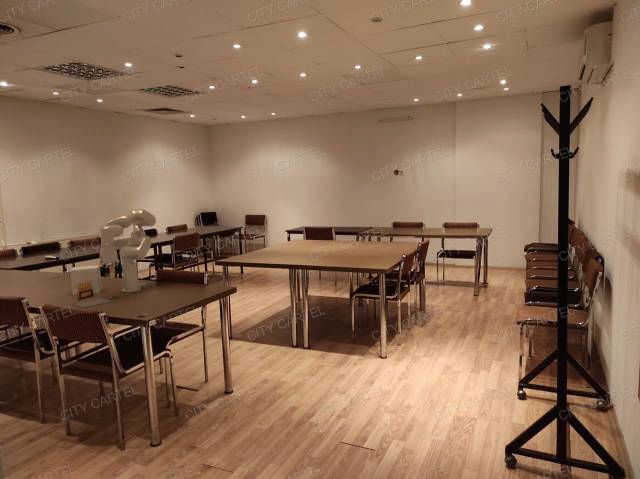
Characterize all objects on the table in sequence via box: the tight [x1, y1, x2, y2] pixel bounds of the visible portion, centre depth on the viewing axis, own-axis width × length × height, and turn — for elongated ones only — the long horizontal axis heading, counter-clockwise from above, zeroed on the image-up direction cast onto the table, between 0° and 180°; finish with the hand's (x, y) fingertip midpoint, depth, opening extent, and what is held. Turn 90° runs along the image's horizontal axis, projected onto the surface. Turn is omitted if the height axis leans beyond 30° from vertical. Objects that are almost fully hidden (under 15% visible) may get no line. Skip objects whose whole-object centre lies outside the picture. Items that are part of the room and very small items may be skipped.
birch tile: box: [105, 263, 116, 279], centre depth 302 cm, size 3×7×8 cm, turn 50°
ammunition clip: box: [76, 280, 95, 301], centre depth 308 cm, size 11×2×12 cm, turn 153°
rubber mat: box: [73, 297, 113, 309], centre depth 293 cm, size 18×14×1 cm
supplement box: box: [69, 264, 103, 296], centre depth 324 cm, size 17×13×18 cm
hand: (110, 273), depth 302 cm, fingers closed on birch tile, 3 cm apart
